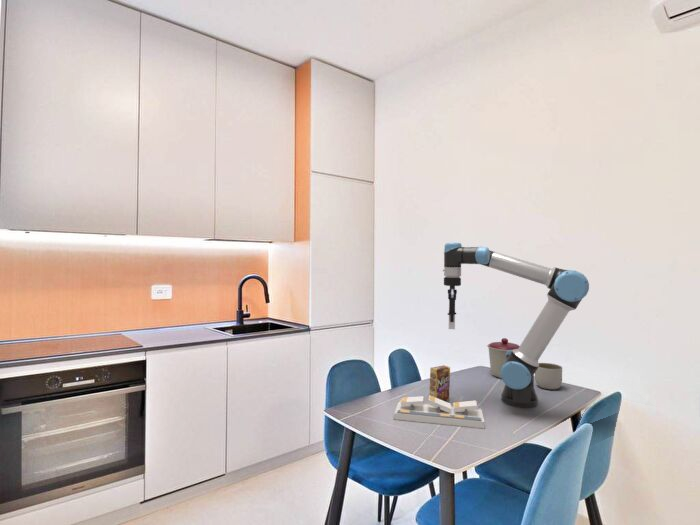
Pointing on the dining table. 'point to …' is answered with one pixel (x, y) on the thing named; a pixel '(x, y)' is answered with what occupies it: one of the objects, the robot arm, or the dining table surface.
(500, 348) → the canister
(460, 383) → the dining table surface
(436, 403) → the rocker
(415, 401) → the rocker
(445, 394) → the candy box
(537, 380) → the planter
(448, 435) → the dining table surface
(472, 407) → the rocker
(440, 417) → the switch board
